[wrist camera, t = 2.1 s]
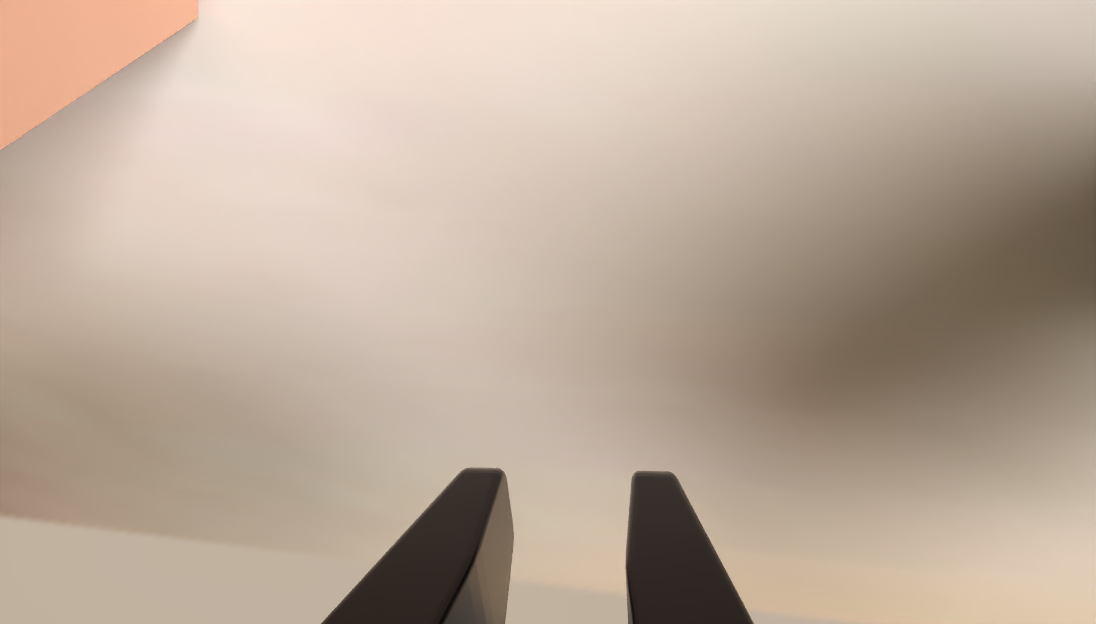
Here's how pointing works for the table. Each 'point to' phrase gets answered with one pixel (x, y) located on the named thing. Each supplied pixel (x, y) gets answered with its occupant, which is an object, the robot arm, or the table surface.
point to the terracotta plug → (72, 50)
